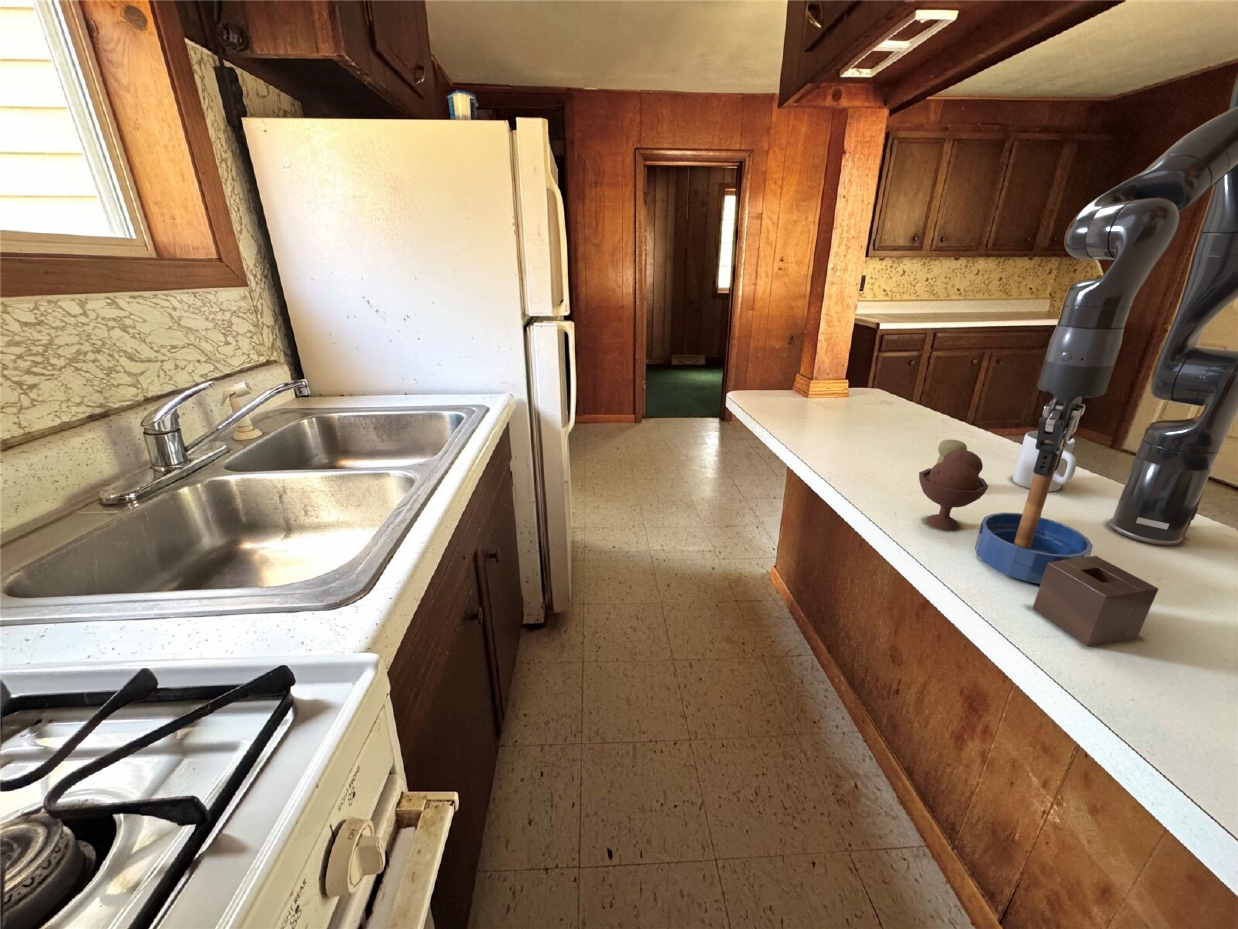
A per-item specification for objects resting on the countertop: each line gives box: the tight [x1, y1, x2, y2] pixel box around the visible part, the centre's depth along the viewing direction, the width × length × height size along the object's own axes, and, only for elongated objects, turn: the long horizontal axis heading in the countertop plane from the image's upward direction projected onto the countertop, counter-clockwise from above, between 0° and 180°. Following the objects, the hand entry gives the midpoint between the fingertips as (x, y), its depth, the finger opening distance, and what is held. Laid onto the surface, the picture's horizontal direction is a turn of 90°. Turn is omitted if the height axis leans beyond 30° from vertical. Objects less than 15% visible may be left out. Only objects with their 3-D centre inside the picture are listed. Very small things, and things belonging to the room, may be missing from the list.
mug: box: [1012, 430, 1077, 492], centre depth 110 cm, size 12×8×11 cm
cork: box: [935, 439, 968, 465], centre depth 111 cm, size 6×6×11 cm
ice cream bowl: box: [918, 449, 989, 532], centre depth 96 cm, size 11×11×15 cm
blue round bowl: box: [974, 512, 1093, 585], centre depth 84 cm, size 14×14×6 cm
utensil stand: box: [1032, 555, 1160, 647], centre depth 70 cm, size 8×8×8 cm
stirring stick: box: [1014, 440, 1063, 550], centre depth 80 cm, size 2×2×20 cm
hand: (1045, 471), depth 78 cm, fingers closed on stirring stick, 2 cm apart
